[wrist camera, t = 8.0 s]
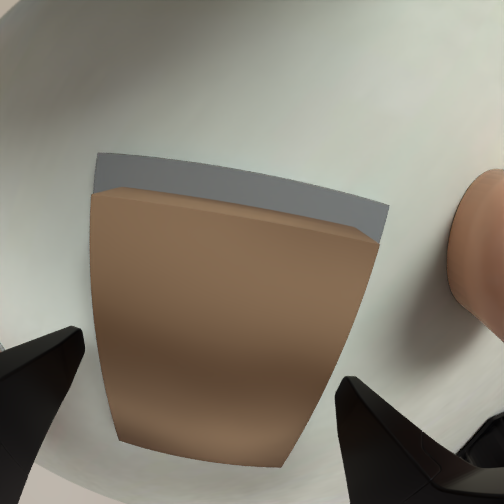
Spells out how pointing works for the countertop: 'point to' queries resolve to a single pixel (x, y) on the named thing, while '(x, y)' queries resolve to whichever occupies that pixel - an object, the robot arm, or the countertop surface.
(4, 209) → the countertop surface
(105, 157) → the mat
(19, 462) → the robot arm
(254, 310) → the cover
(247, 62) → the countertop surface
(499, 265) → the peach rounded knob
